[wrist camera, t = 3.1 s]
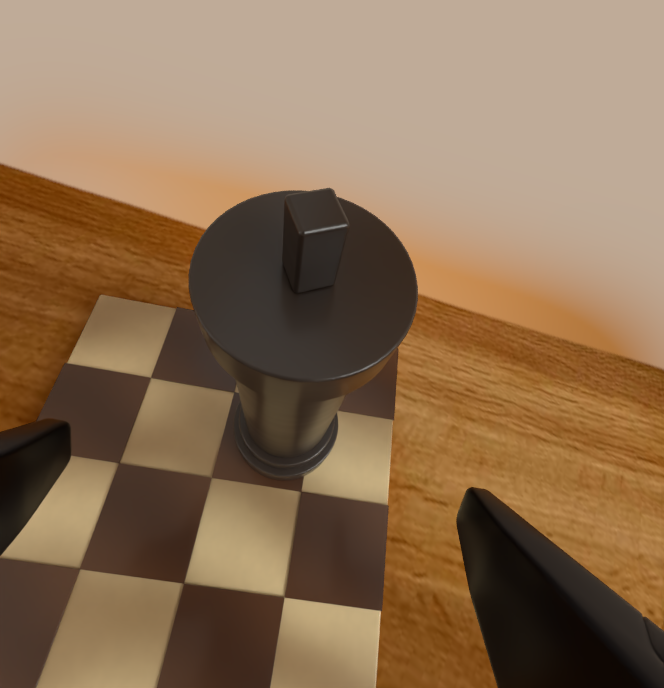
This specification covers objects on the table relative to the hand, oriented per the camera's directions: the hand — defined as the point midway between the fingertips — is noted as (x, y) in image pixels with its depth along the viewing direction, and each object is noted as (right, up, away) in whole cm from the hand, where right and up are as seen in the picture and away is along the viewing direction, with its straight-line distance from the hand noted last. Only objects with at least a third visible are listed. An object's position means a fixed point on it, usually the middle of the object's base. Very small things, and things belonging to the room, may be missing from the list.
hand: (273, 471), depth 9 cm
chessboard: (-4, -3, +9) cm, 10 cm away
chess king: (-1, -1, +10) cm, 10 cm away
